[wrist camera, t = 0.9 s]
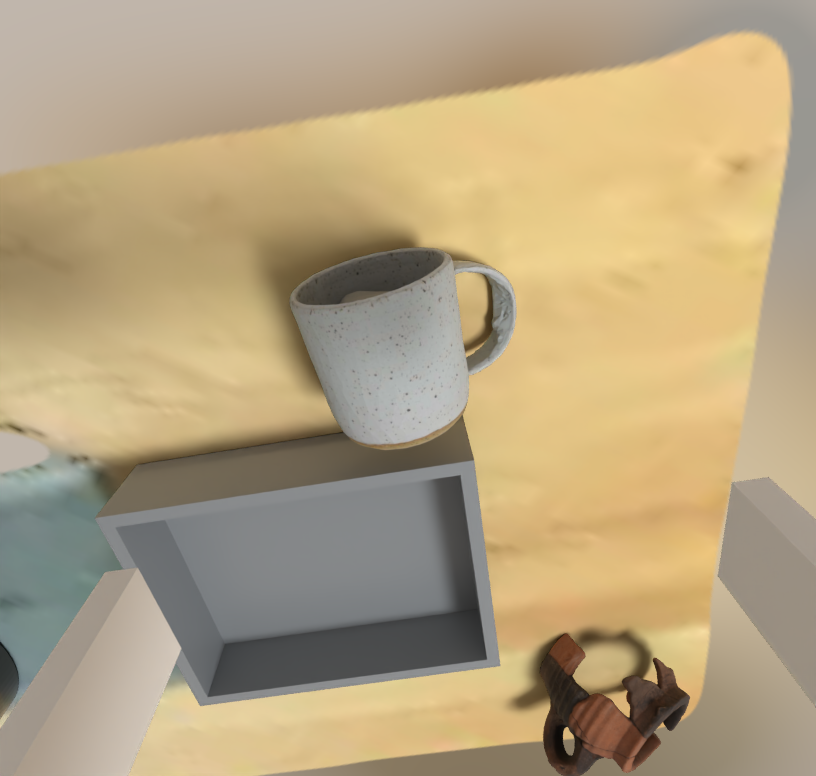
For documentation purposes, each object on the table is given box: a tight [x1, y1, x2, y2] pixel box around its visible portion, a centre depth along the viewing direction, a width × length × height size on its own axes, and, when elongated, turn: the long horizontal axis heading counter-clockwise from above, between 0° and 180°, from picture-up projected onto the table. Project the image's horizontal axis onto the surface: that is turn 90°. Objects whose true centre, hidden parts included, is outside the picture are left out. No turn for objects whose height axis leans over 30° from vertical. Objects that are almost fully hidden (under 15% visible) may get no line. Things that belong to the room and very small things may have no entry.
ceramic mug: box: [290, 247, 516, 450], centre depth 25 cm, size 11×8×8 cm
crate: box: [95, 415, 500, 706], centre depth 33 cm, size 21×17×5 cm
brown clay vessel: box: [540, 634, 690, 776], centre depth 40 cm, size 12×10×8 cm
